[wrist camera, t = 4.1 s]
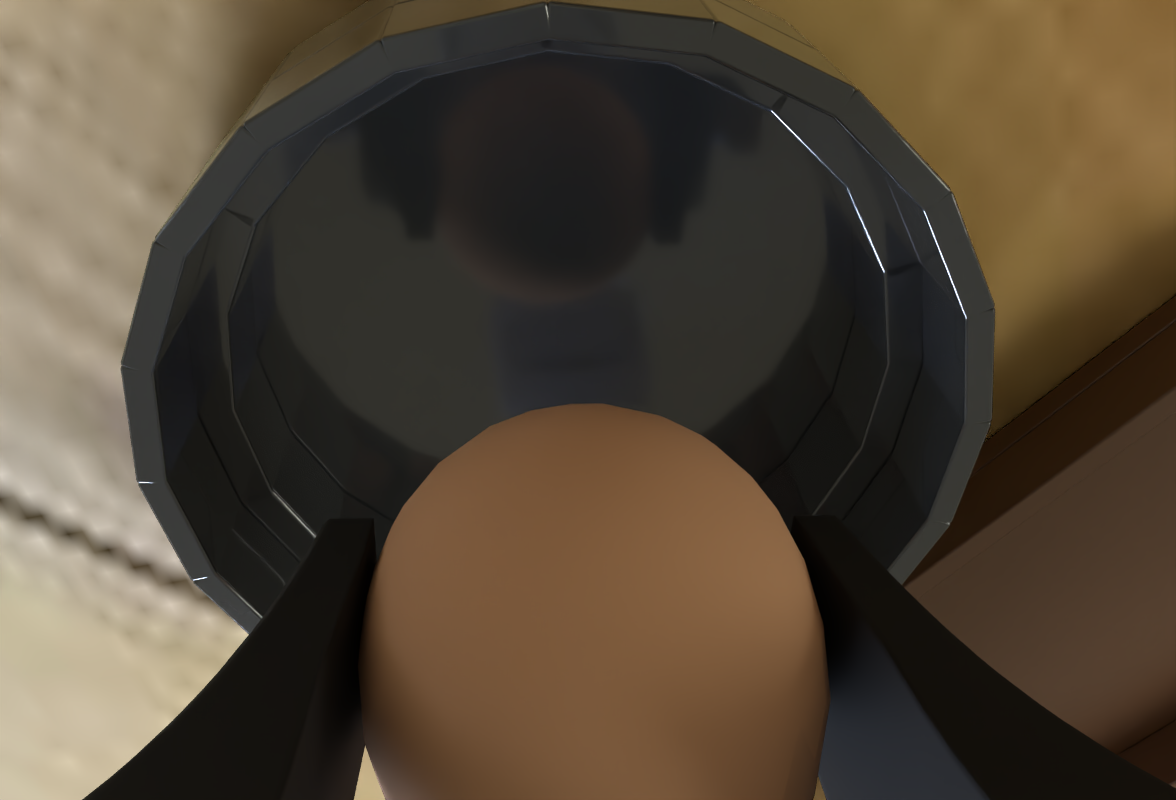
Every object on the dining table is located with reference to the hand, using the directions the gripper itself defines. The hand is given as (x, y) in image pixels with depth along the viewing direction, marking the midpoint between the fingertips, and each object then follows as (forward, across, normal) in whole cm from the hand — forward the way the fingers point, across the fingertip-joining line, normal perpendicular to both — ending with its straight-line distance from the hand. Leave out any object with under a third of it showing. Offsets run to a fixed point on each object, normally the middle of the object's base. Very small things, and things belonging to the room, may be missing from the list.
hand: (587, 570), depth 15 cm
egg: (+2, 0, 0) cm, 2 cm away
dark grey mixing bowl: (+7, 0, 0) cm, 7 cm away
